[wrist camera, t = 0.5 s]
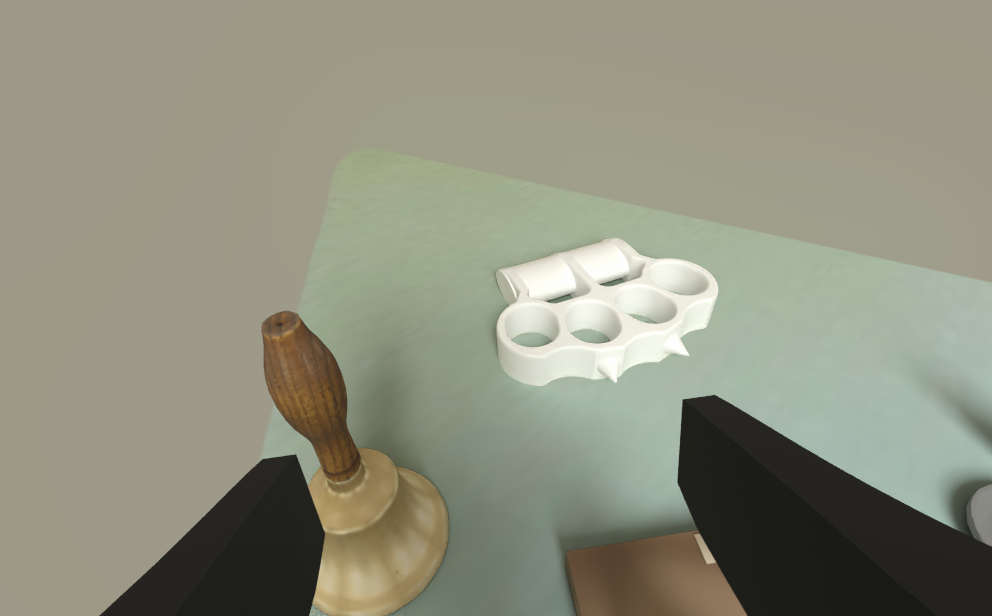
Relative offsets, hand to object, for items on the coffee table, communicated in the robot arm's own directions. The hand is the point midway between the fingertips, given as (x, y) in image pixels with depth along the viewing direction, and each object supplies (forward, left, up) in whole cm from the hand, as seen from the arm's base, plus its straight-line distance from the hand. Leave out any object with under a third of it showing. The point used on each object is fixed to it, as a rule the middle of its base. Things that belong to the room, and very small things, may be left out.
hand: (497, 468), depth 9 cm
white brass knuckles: (+23, -10, -19) cm, 31 cm away
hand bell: (+8, +7, -19) cm, 21 cm away
